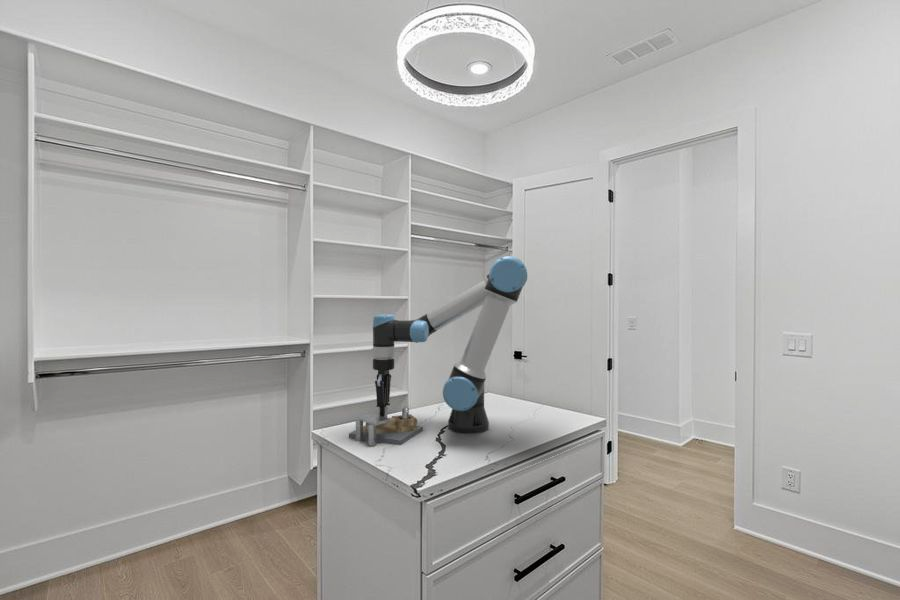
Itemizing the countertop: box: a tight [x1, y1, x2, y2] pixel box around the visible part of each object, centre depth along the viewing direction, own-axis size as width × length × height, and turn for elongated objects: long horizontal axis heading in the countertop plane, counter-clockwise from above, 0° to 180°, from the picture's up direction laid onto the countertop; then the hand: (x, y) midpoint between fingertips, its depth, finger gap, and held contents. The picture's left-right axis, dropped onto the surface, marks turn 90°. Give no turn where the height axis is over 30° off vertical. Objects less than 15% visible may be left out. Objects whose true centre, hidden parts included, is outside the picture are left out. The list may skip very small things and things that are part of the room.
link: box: [365, 413, 418, 435], centre depth 155 cm, size 17×7×4 cm, turn 115°
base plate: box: [348, 424, 424, 446], centre depth 155 cm, size 20×17×2 cm
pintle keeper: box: [355, 407, 410, 447], centre depth 152 cm, size 13×19×8 cm
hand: (383, 424), depth 157 cm, fingers closed
